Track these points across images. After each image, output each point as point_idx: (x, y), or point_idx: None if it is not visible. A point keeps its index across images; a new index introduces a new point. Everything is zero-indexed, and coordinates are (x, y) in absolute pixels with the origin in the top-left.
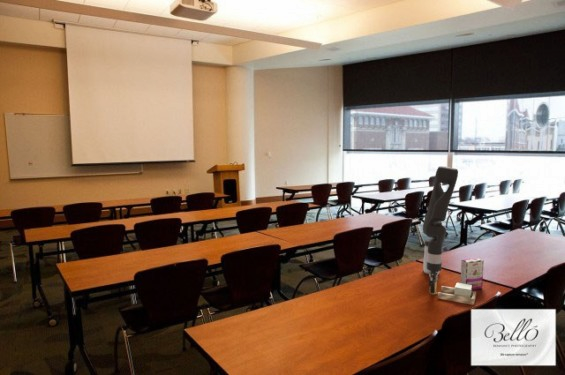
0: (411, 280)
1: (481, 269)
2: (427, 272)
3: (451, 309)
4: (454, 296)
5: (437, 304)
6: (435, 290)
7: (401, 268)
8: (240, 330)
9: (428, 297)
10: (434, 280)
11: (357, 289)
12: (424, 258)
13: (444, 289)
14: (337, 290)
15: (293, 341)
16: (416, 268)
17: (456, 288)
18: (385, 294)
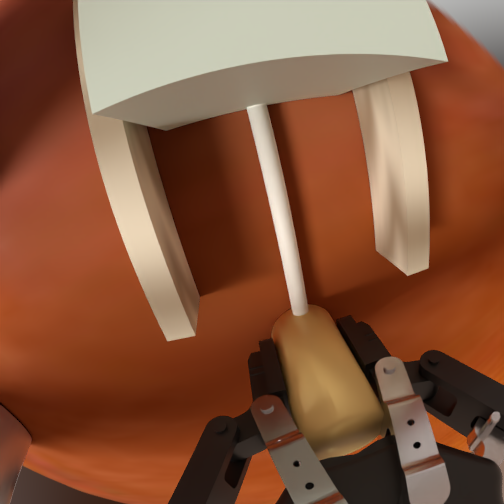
0: (172, 469)
1: None
2: (25, 437)
3: (497, 92)
4: (404, 76)
5: (486, 197)
6: (329, 330)
7: (93, 490)
8: None
9: (409, 307)
10: (318, 442)
11: None
12: (11, 495)
13: (185, 282)
14: None
15: None
16: (36, 459)
17: (421, 34)
18: (433, 426)
